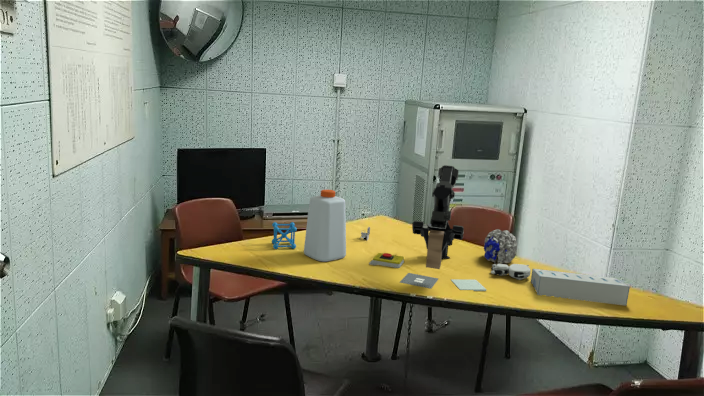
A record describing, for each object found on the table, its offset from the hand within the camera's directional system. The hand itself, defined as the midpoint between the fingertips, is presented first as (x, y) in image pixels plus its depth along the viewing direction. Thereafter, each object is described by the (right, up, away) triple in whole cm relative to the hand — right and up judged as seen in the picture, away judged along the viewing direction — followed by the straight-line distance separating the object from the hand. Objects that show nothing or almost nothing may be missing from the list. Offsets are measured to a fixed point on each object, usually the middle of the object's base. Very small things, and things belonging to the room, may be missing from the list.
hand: (434, 249), depth 180 cm
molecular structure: (-60, -3, +39) cm, 72 cm away
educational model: (+34, -9, +37) cm, 51 cm away
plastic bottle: (-42, -6, +29) cm, 51 cm away
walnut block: (0, -6, +3) cm, 7 cm away
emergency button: (-15, -9, +23) cm, 29 cm away
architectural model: (-28, -2, +54) cm, 61 cm away
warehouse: (+53, -17, +3) cm, 56 cm away
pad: (+13, -14, +4) cm, 19 cm away
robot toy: (+33, -13, +18) cm, 40 cm away
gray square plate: (-5, -12, +5) cm, 14 cm away
